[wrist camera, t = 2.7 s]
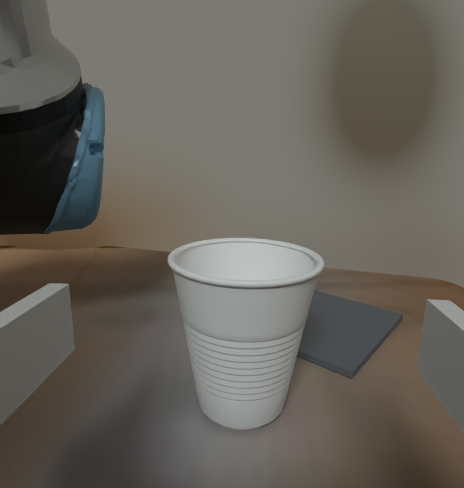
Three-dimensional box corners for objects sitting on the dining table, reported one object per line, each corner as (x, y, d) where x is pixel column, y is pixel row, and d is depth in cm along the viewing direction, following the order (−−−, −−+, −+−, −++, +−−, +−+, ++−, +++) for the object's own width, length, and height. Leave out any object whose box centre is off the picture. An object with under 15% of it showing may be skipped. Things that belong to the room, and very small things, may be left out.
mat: (206, 318, 39) (206, 313, 39) (277, 284, 49) (278, 280, 49) (352, 378, 29) (352, 372, 29) (401, 319, 39) (402, 314, 39)
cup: (142, 403, 26) (135, 254, 23) (235, 349, 33) (238, 231, 30) (250, 490, 19) (259, 298, 16) (336, 400, 26) (352, 255, 24)
